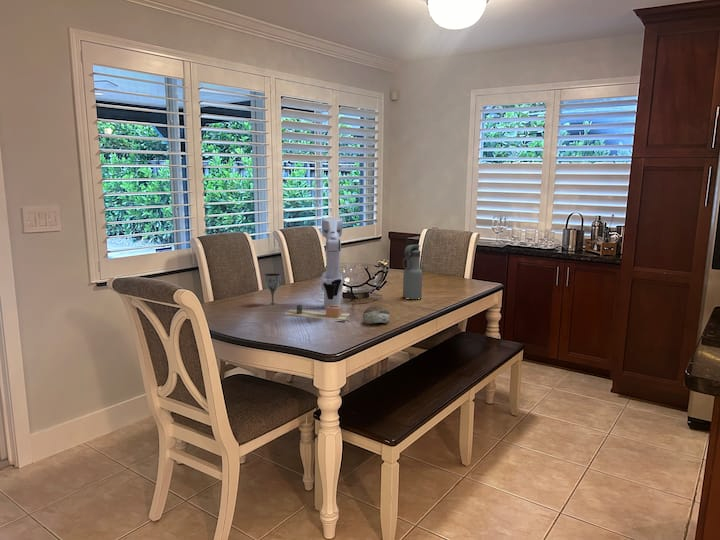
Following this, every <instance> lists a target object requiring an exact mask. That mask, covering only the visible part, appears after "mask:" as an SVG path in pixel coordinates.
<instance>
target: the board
mask: <svg viewBox="0 0 720 540" xmlns="http://www.w3.org/2000/svg"><path fill="white" fill-rule="evenodd" d="M331 308H337V307H331ZM349 315H351V313H349V312H341V316H340V317H339V318H336V317H326V311H320V310H319V311H318V310H308V309H307V310H304V309H303V304H297V305H296V309H293V308H291V309H289V310H288V311H287V312H285V313H284V314H282V317H294V318H296V317H298V318H307V319H308V318H309V319H310V318H311V319H323V320H336V321H335V323H344V324H345V322H346V321H347V317H349Z"/></svg>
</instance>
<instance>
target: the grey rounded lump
mask: <svg viewBox="0 0 720 540" xmlns="http://www.w3.org/2000/svg"><path fill="white" fill-rule="evenodd" d="M390 318H391V316H390V311H389V310H388V308H387V307H382V306H377V305H376V306H374V305H372V306H369V307H367V308H366V309H365V310H364V311H363V314H362V319H363V322H364V323H365V324H367V325H372V324H378V323H382V324H388V323H389V322H390ZM387 322H388V323H387Z"/></svg>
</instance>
